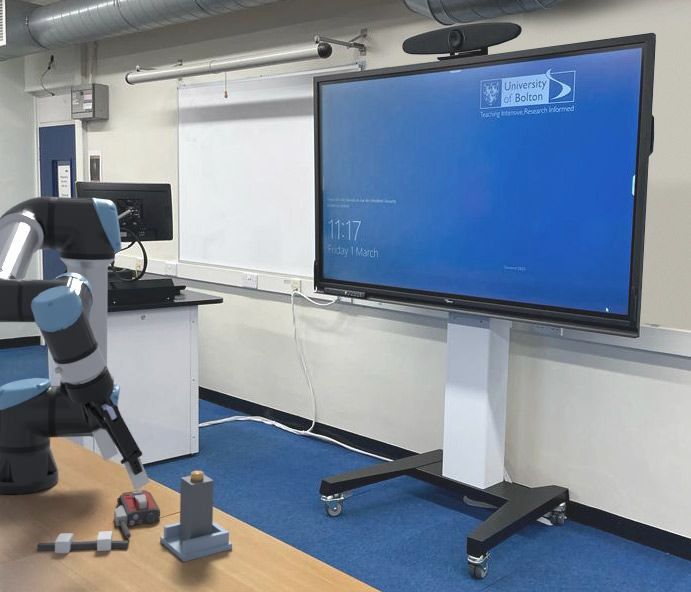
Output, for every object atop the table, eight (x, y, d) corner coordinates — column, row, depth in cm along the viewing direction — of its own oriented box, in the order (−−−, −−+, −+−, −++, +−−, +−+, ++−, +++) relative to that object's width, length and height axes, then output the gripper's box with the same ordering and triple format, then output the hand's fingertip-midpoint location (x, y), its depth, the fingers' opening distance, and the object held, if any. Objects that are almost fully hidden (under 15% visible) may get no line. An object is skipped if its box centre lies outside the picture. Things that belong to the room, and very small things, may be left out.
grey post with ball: (179, 538, 146) (180, 471, 144) (201, 533, 149) (202, 467, 147) (190, 547, 142) (191, 478, 141) (212, 541, 145) (213, 474, 144)
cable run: (39, 545, 143) (38, 534, 142) (129, 541, 146) (129, 530, 146) (35, 554, 139) (35, 543, 139) (128, 550, 142) (128, 538, 142)
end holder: (160, 541, 146) (160, 525, 146) (207, 530, 153) (207, 514, 152) (183, 561, 139) (183, 544, 138) (232, 548, 145) (232, 532, 144)
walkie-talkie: (107, 506, 164) (122, 544, 146) (107, 486, 163) (122, 522, 145) (149, 501, 167) (168, 537, 149) (149, 481, 167) (169, 516, 149)
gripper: (40, 363, 138) (81, 455, 148) (92, 408, 120) (136, 511, 129) (78, 344, 142) (116, 435, 151) (135, 385, 124) (175, 486, 133)
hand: (126, 470), depth 140 cm, fingers open, 13 cm apart
